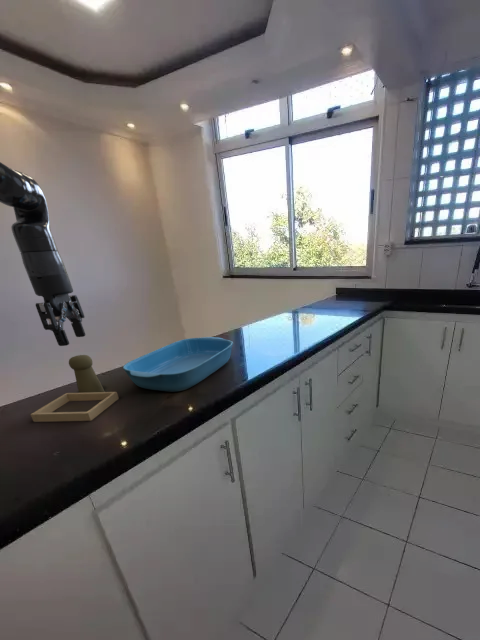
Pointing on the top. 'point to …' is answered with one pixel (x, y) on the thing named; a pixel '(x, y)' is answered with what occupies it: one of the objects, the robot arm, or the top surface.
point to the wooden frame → (48, 415)
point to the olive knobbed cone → (85, 374)
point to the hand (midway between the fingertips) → (73, 340)
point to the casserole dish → (179, 364)
